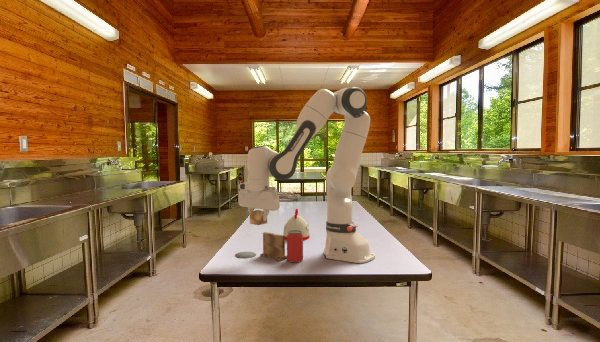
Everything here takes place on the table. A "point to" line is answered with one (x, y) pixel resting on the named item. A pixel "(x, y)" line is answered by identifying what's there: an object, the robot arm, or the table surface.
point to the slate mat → (245, 254)
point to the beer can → (294, 246)
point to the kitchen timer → (297, 226)
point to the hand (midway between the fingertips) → (258, 219)
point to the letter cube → (257, 217)
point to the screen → (274, 246)
